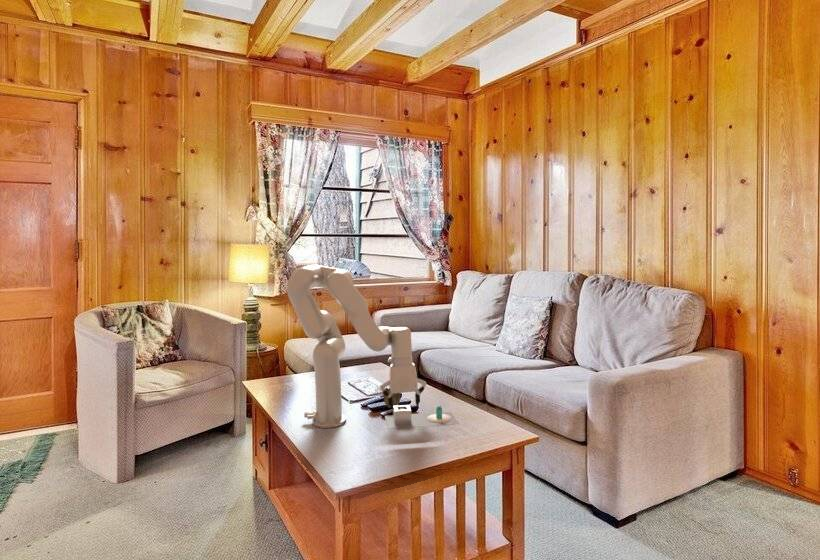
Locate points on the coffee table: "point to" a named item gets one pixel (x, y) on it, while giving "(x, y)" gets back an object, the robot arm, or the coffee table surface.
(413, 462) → the coffee table surface
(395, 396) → the cup
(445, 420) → the tool board
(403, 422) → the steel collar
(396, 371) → the robot arm
